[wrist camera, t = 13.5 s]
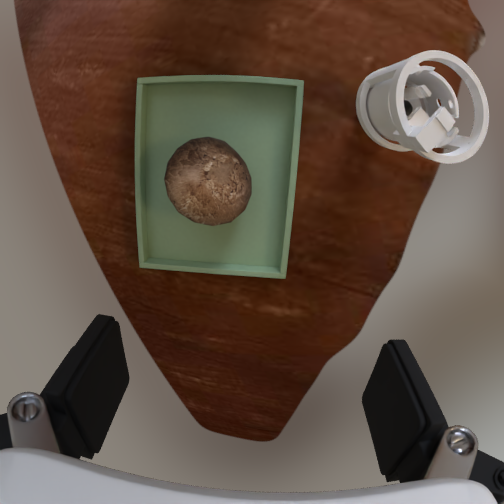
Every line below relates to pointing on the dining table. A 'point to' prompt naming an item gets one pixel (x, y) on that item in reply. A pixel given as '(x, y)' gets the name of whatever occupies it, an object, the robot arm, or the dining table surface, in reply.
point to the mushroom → (208, 181)
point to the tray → (247, 146)
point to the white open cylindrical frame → (421, 108)
